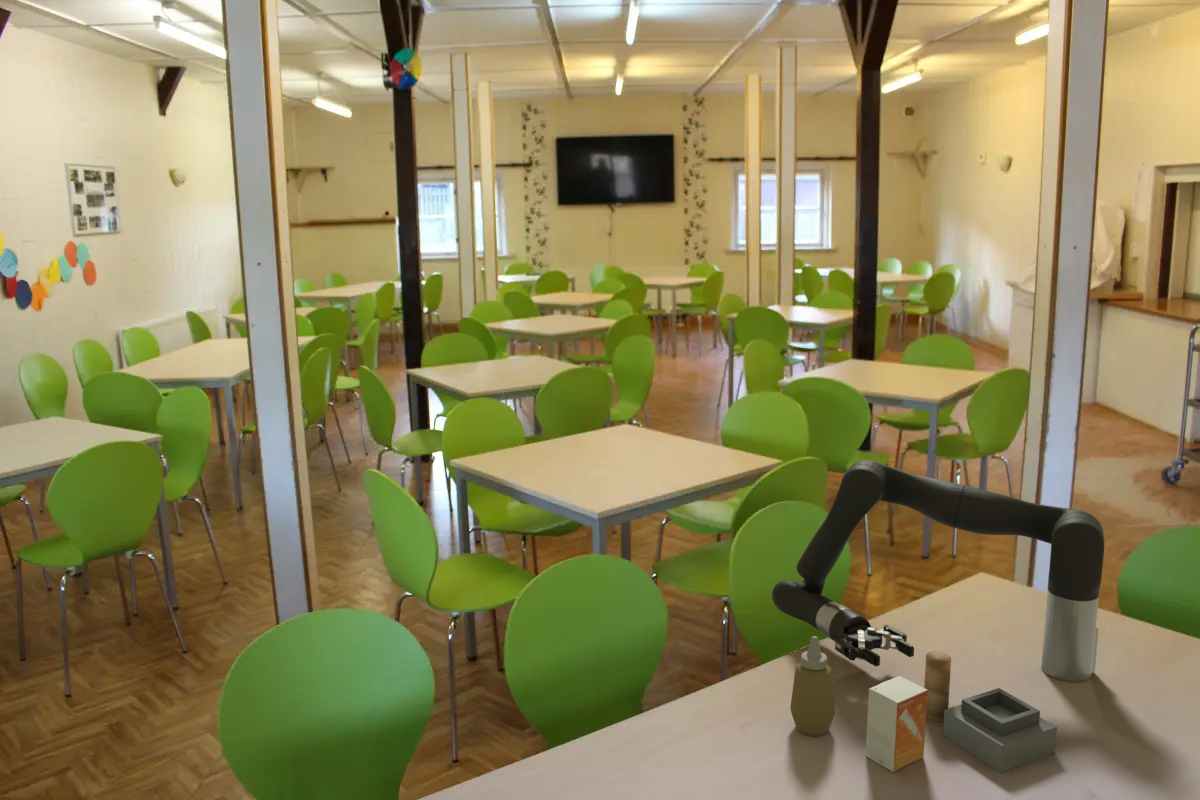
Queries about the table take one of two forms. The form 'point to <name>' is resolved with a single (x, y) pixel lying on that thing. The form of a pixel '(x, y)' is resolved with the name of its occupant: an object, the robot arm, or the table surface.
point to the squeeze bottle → (813, 692)
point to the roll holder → (999, 730)
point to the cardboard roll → (937, 685)
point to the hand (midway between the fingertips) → (895, 657)
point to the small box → (896, 723)
